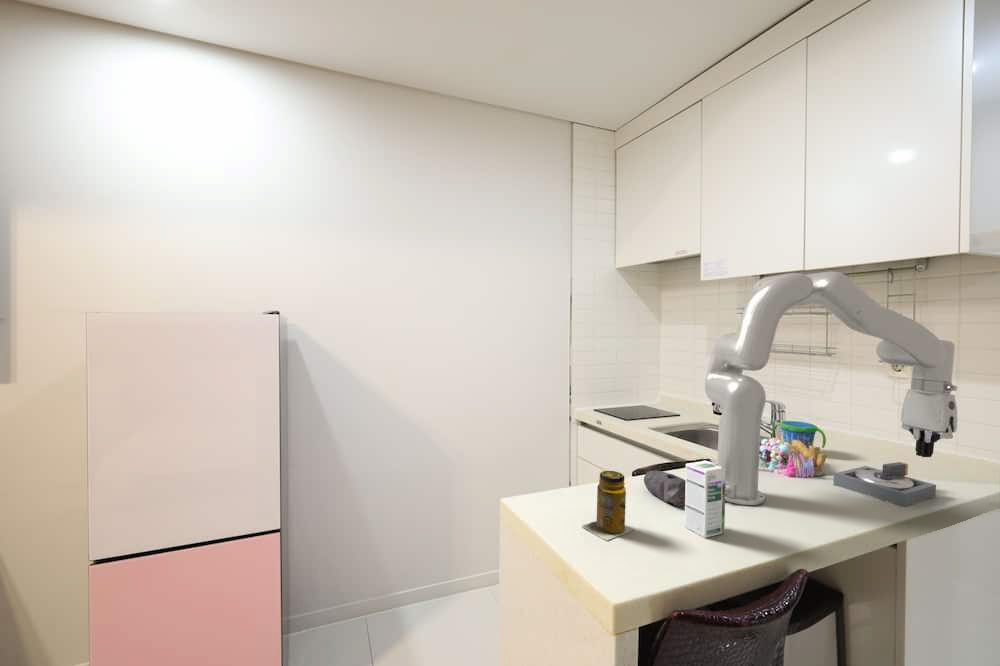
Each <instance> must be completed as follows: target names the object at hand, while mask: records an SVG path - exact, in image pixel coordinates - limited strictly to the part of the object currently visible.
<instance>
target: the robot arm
mask: <svg viewBox="0 0 1000 666" xmlns="http://www.w3.org/2000/svg"><path fill="white" fill-rule="evenodd" d="M810 305H811V306H813V305H815V306H816V305H821V306H822V307H824V308H826V310H828V311H829V312H830V313H831V314H833V315H834V316H835V317H836V318H837V320H840V321H841V322H842V323H843V324H845V326H846V327H847V328H850V330H852V331H855V332H858V333H861V334H864V335H867V336H871V337H875V338H878V339H881V341H879V343H878V344H877V345H876V349H875V350H876V351H875V352H876V355H877V357H878V358H879V359H880V360H881V361H882V362H884V363H885V364H886V363H887V364H890V365H894V366H900V367H911V368H912V369H911V370H912V371H911V380H910V389H907V391H906V394H905V396H904V399H903V403H902V408H901V415H900V420H901V423H902V424H901V426H900V427H901V429H903V430H904V431H907V432H910V433H911V435H912V437H913V439H914V440H915V441H916V442H915V455H916V456H918V457H922V458H932V456H933V454H934V448H935V443H937V442H938V441H940V440H941V439H943V440H944V439H945V440H949V439H954V435H953V433H956V432H957V429H958V407H957V401H956V395H955V394H951V393H952V391H953V392H956V391H957V389H958V386H957V385H953V382H952V380H953V370H954V369H953V368H954V360H955V359H954V358H955V351H956V350H955V349H956V348H955V347H956V346H955V344H954V342H953V341H951V340H943V339H939V338H938V337H937V336H936V335H935V334H934V333H933V332H932V331H931V330H929V329H928V327H926V326H924V325H923V324H921V323H919V322H918V321H916V320H914V319H912V318H910V317H908V316H905V315H903V314H901V313H899V312H896V311H894V310H892V309H890V308H888V307H885V306H883V305H881V304H880V303H878V302H877V301H876V300H875V299H874V298H872V296H871V295H869V294H868V293H867V292H865V290H863V289H862V287H860V286H858V285H857V283H855V282H854V281H853V280H852V279H851V278H850V277H848V276H847V275H845V274H844V273H842V272H838V271H823V272H815V273H806V274H804V273H801V272H792V273H784V274H783V273H782V274H779V275H771V276H765V277H762V278H760V279H758V280H756V282H755V283H754V285H753V287H752V288H751V298H750V299H749V300H748V302H747V303H746V304H745V306H744V308H743V310H742V314H741V316H740V319H739V323H738V326H737V328H736V332H729V333H726V334H723V335H722V336H721V337H720V338H718V340H717V341H716V343H715V344H714V346H713V349H712V351H711V356H710V358H709V359H710V360H709V363H708V368H707V371H706V372H707V373H706V375H705V381H704V392H705V395H706V396H707V398H708V399H709V400H710V401H711V402H712V403H715V404H716V405H719V406H721V407H723V408H722V409H723V410H722V412H721V416H720V418H719V422H718V436H717V437H718V440H717V463H716V464H718V465H720V466H722V467H724V468H725V469H726V473H725V502H727V503H732V504H736V505H743V506H757V505H762V504H763V503H765V501H766V500H765V499H766V497H765V495H764V494H765V493H763V492H762V491H761V490H759V472H760V471H759V451H760V444H761V424H762V418H763V417H762V416H763V413H764V408H765V406H766V405H765V404H766V399H767V395H766V391H765V388H764V385H762V384H761V383H760V382H759V381H758V380H757V379H755V378H753V377H751V376H749V375H743V372H744V371H750V372H757V371H760V370H762V369H764V368H765V367H766V365H767V364H768V362H769V360H770V356H771V352H772V348H773V343H774V340H775V336H776V332H777V329H778V327H779V326H778V325H779V323H780V321H781V319H782V317H783V316H784V315H785V313H787V312H788V311H789V310H791V309H792V308H794V307H798V306H799V307H800V306H810Z"/></svg>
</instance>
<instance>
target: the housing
mask: <svg viewBox="0 0 1000 666" xmlns="http://www.w3.org/2000/svg"><path fill="white" fill-rule="evenodd" d="M858 470H875V471H883V469H879V468H874V467H870V466H868V465H864V466H860V467H856V468H851V469H846V470H843V471H838V472H834V473H833V486H838V487H839V488H844V489H846V490H850V491H852V492H856V493H859V494H862V495H865V496H868V497H872V498H874V499H875V498H876V499H879V500H881V501H884V502H887V503H890V504H894V505H897V506H900V507H904V508H905V507H908V506H911V505H914V504H917V503H920V502H924V501H927V500H930V499H933V498H935V497H936V493H937V485H936V484H934V483H930V482H927V481H924V480H920V479H916V478H911V477H908V476H906V475H905V476H902V477H905V478H907V479H909V480H911V481H912V482H913V483H914V484H913V488H910V489H906V490H903V491H898V490H895V489H892V488H888V487H885V486H881V485H878V484H874V483H871V482H868V481H864V480H861V479H857V478H855V473H856V471H858Z"/></svg>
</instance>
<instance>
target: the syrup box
mask: <svg viewBox="0 0 1000 666" xmlns="http://www.w3.org/2000/svg"><path fill="white" fill-rule="evenodd" d="M725 473H726V469H725V468H724V467H722V466H720V465H718V464H717V463H715V462H712V461H708V460H702V461H695V462H689V463H685V480H686V483H685V506H684V527H685V528H686V529H688V530H689V529H690V530H689V531H691V530H692V531H691V532H693V531H694V532H696V533H697V534H696V533H695V534H696V535H698V534H699V535H698V536H700V535H701V536H700V537H702V538H703V539H708V538H709V537H714V536H718V535H723V534H725V521H726V520H725V519H726V516H725V515H726V514H725V513H726V501H725ZM694 532H693V533H694Z"/></svg>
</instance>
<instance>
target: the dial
mask: <svg viewBox="0 0 1000 666" xmlns="http://www.w3.org/2000/svg"><path fill="white" fill-rule="evenodd" d="M882 470H883V471H875V470H858V471H856V473H855V478H857V479H861V480H864V481H868V482H871V483H874V484H878V485H881V486H885V487H888V488H892V489H895V490H898V491H903V490H906V489H910V488H913V484H914V483H913V482H912V481H911V480H909V479H907V478H905V477H906V476H908V474H909V473H908V472H909V464H908V463H905V462H902V461H900V462H899V461H898V462H896V461H895V462H891V463H884V464H882ZM902 476H905V477H902Z"/></svg>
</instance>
